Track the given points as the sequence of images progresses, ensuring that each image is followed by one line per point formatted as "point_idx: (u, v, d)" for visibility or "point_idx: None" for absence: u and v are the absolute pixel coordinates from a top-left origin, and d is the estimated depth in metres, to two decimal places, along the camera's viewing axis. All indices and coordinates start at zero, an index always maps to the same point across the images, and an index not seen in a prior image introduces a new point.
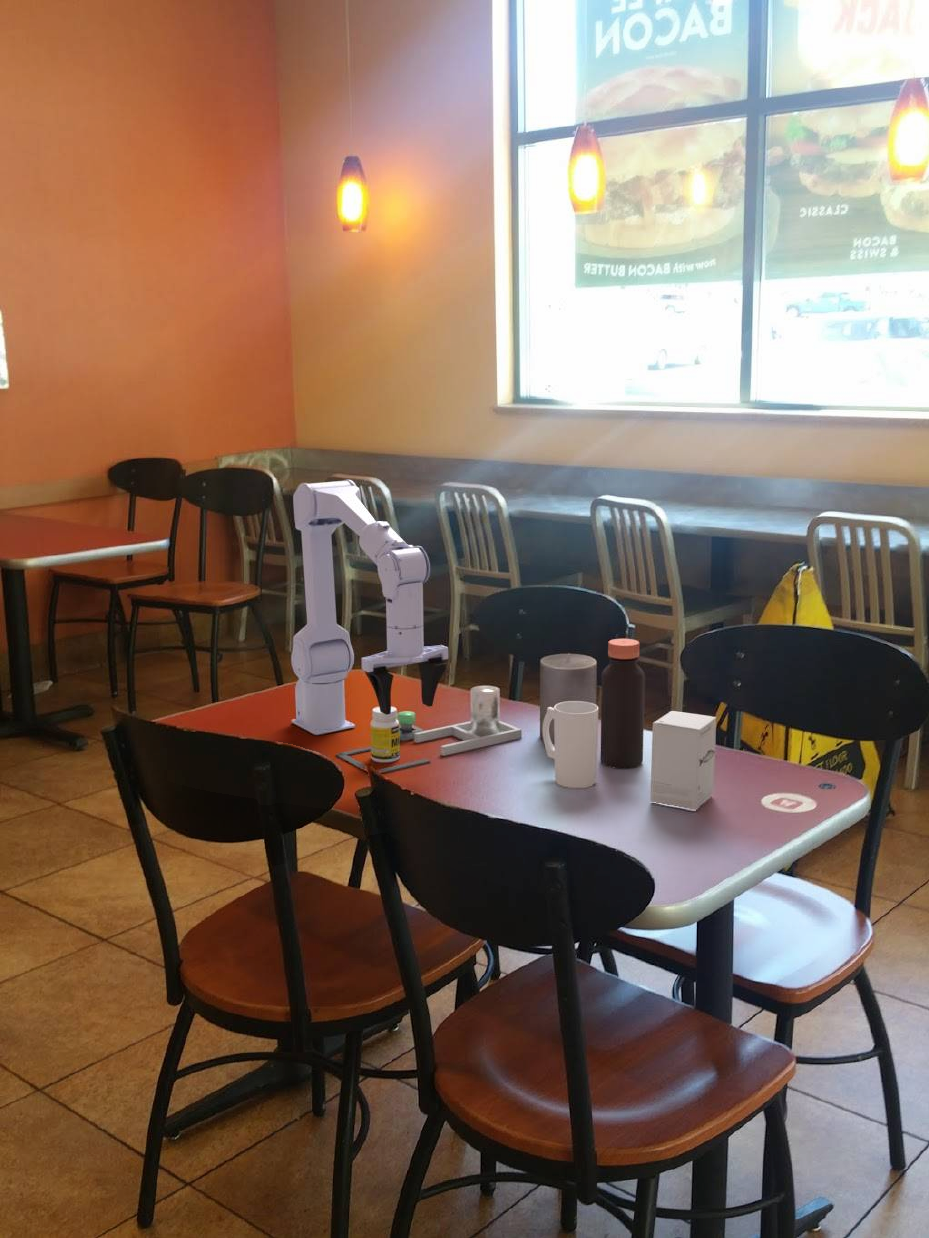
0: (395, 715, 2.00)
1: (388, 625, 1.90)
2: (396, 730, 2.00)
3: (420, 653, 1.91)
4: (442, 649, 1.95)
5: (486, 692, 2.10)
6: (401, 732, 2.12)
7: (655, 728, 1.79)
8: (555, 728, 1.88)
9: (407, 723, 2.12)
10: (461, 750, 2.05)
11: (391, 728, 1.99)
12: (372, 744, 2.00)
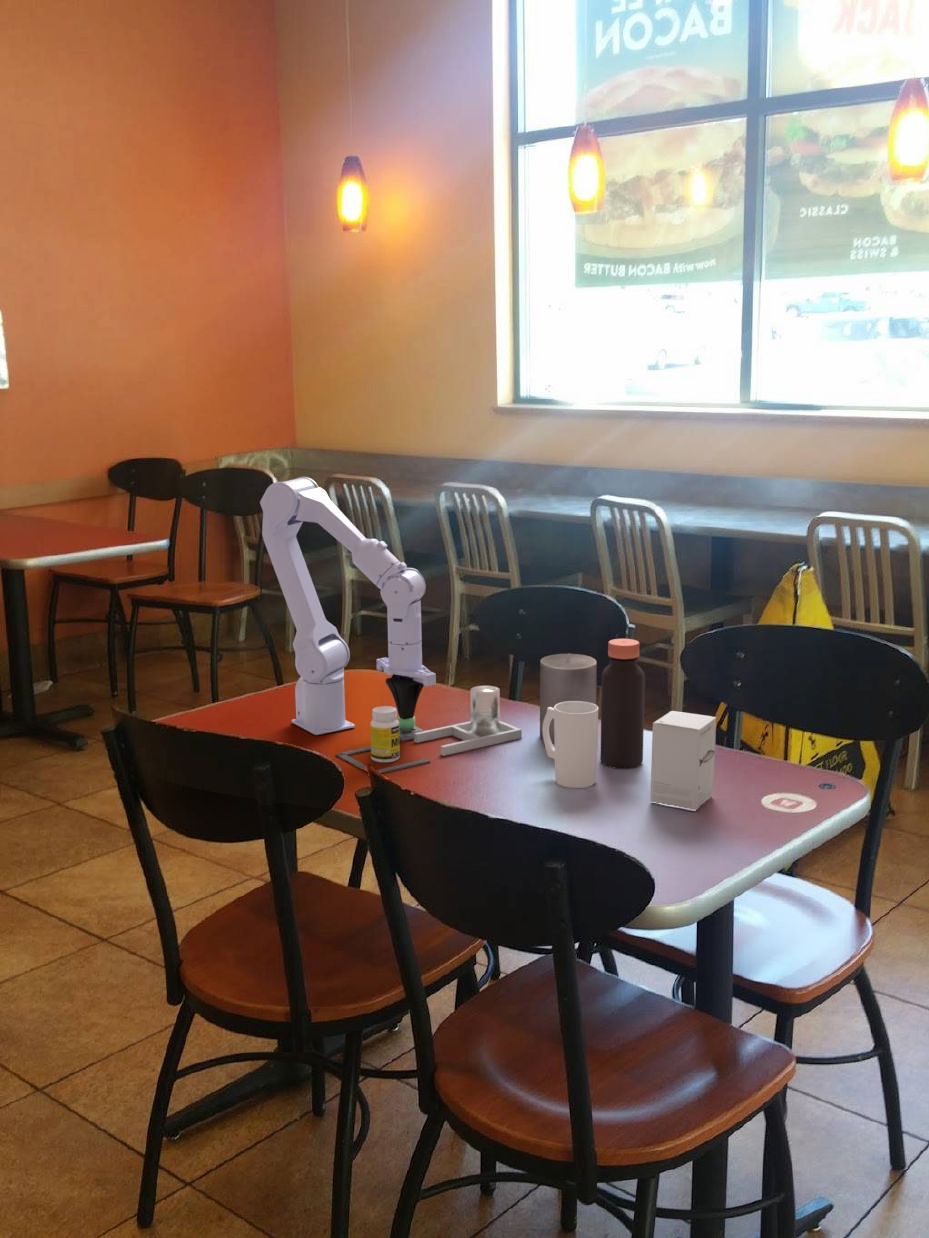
0: (395, 715, 2.00)
1: (396, 643, 2.07)
2: (396, 730, 2.00)
3: (397, 668, 2.08)
4: (421, 675, 2.06)
5: (486, 692, 2.10)
6: (401, 732, 2.12)
7: (655, 728, 1.79)
8: (555, 728, 1.88)
9: (407, 727, 2.12)
10: (461, 750, 2.05)
11: (391, 728, 1.99)
12: (372, 744, 2.00)
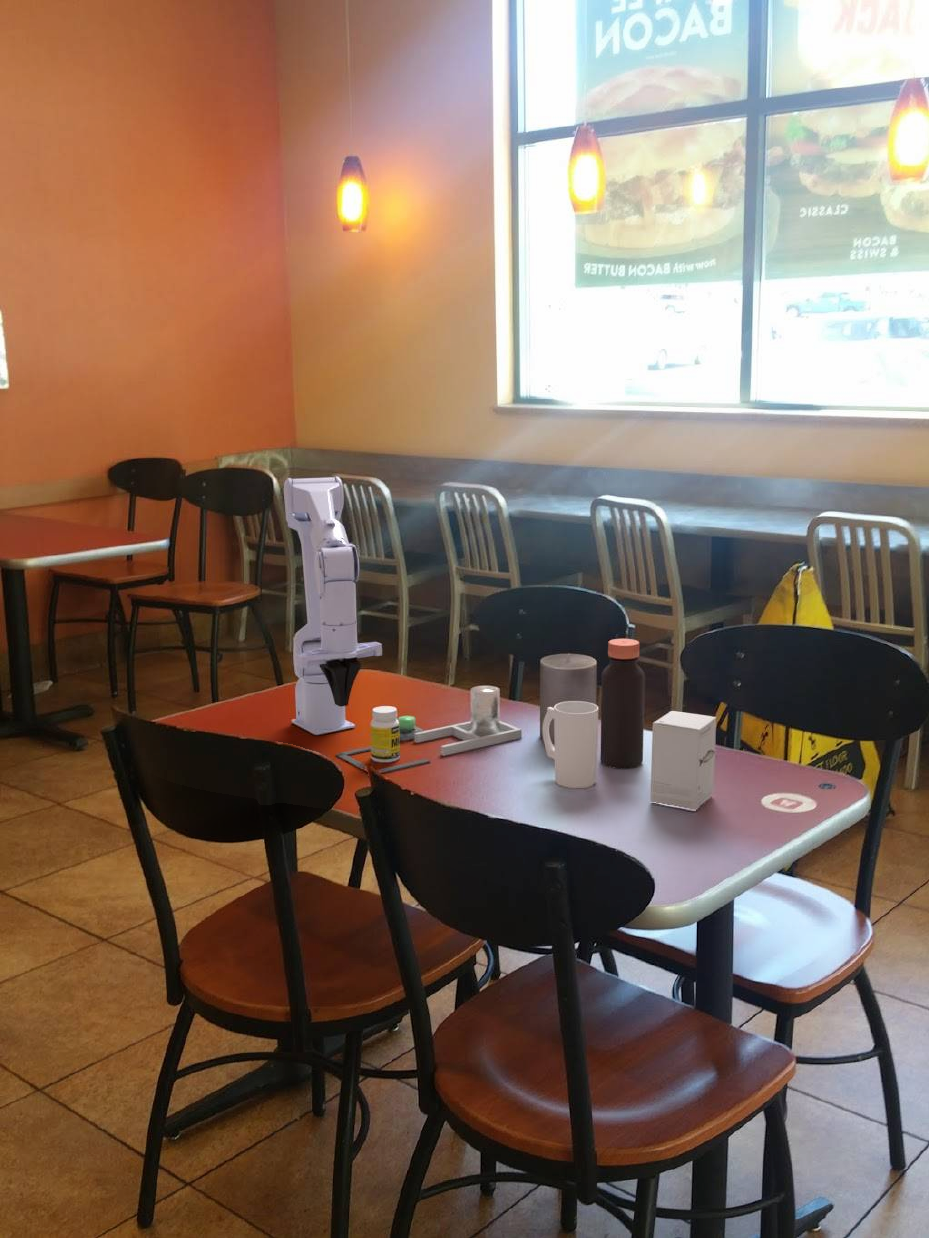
0: (395, 715, 2.00)
1: (320, 621, 1.95)
2: (396, 730, 2.00)
3: (354, 649, 1.95)
4: (376, 646, 1.99)
5: (486, 692, 2.10)
6: (401, 732, 2.12)
7: (655, 728, 1.79)
8: (555, 728, 1.88)
9: (407, 728, 2.12)
10: (461, 750, 2.05)
11: (391, 728, 1.99)
12: (372, 744, 2.00)
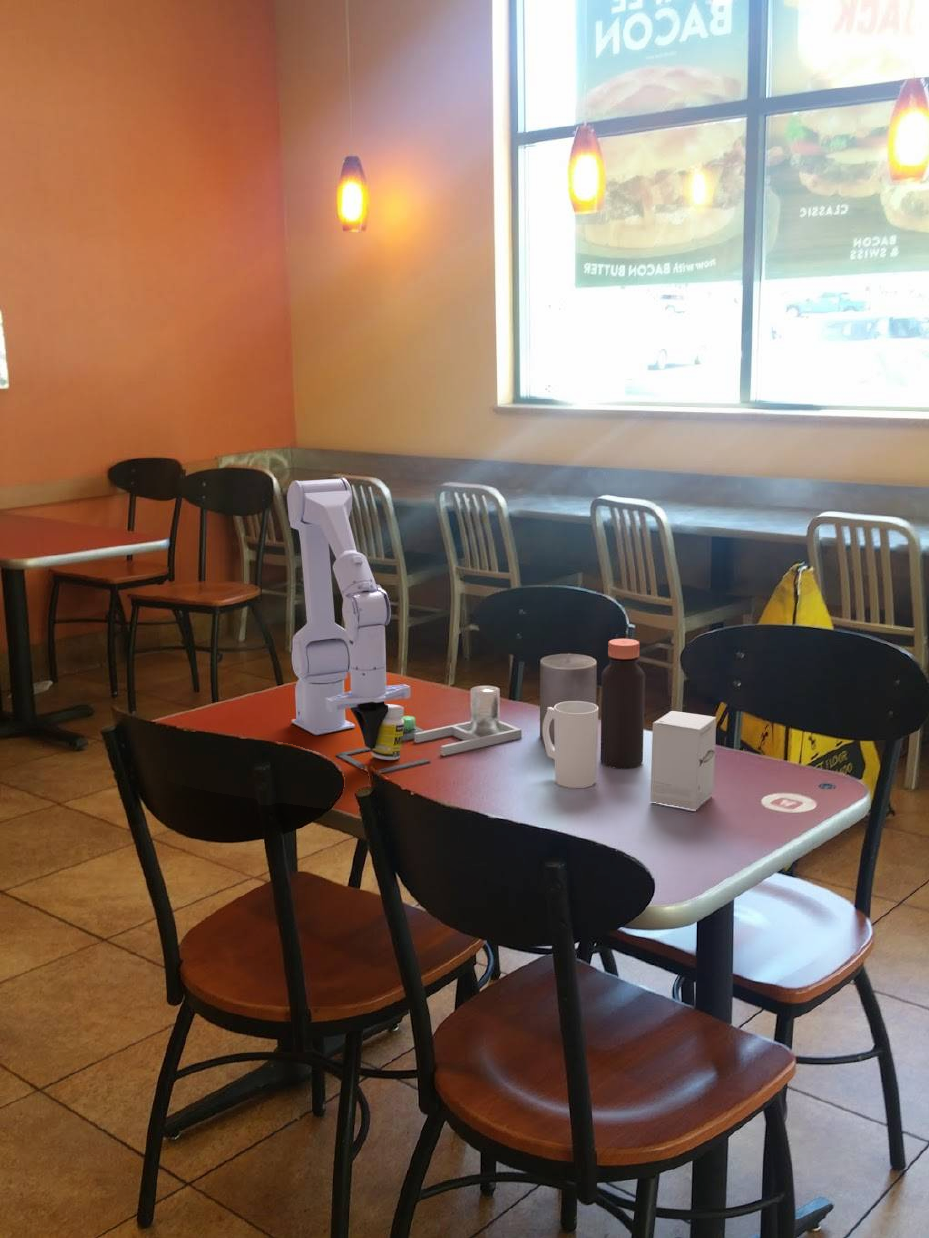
0: (401, 714, 2.00)
1: (350, 665, 1.96)
2: (400, 729, 2.00)
3: (383, 693, 1.97)
4: (404, 688, 2.00)
5: (486, 692, 2.10)
6: None
7: (655, 728, 1.79)
8: (555, 728, 1.88)
9: (407, 728, 2.12)
10: (461, 750, 2.05)
11: (396, 726, 1.99)
12: None
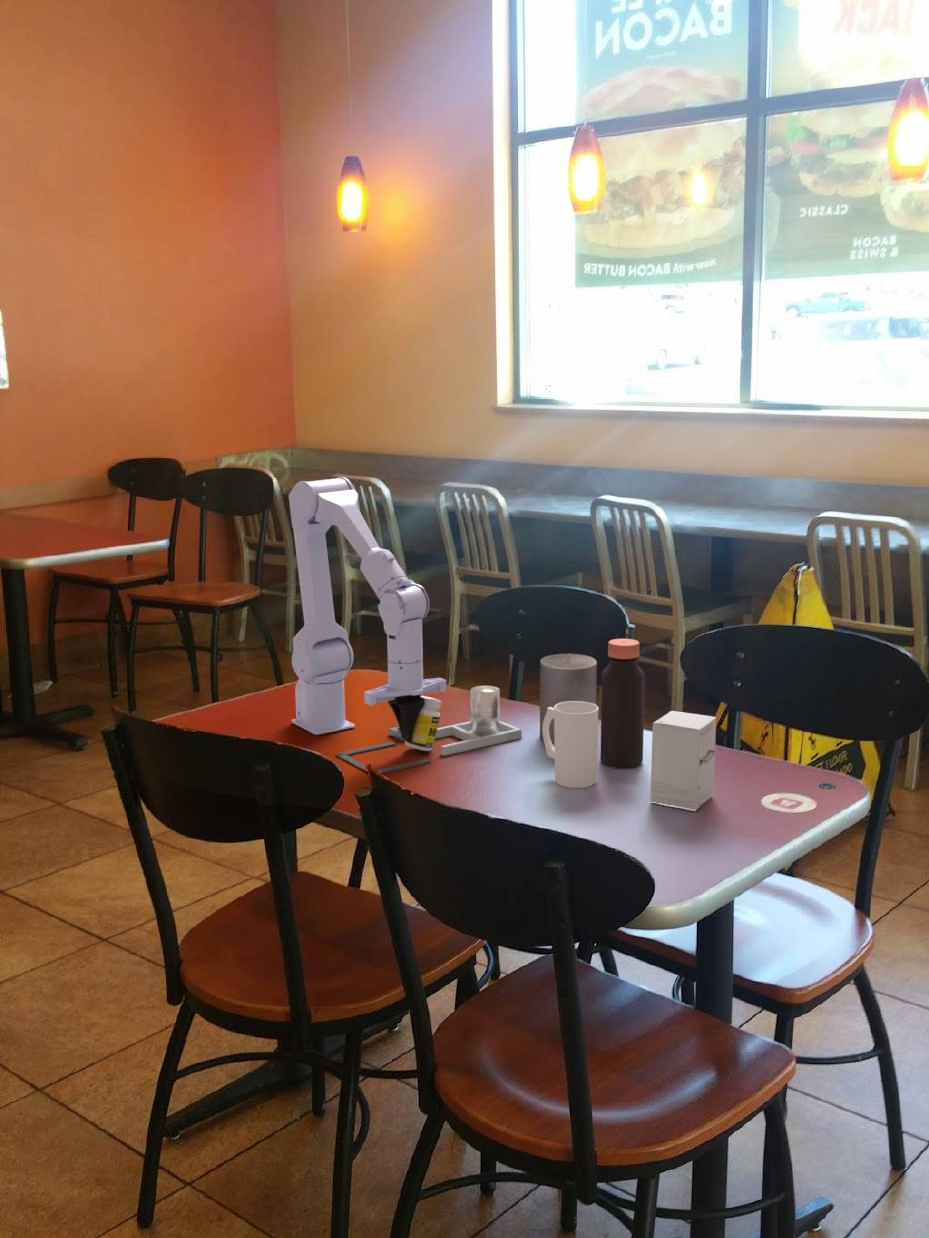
0: (439, 706, 2.04)
1: (391, 660, 1.99)
2: (436, 721, 2.04)
3: (420, 686, 2.00)
4: (440, 682, 2.04)
5: (486, 692, 2.10)
6: None
7: (655, 728, 1.79)
8: (555, 728, 1.88)
9: None
10: (461, 750, 2.05)
11: (432, 717, 2.03)
12: None
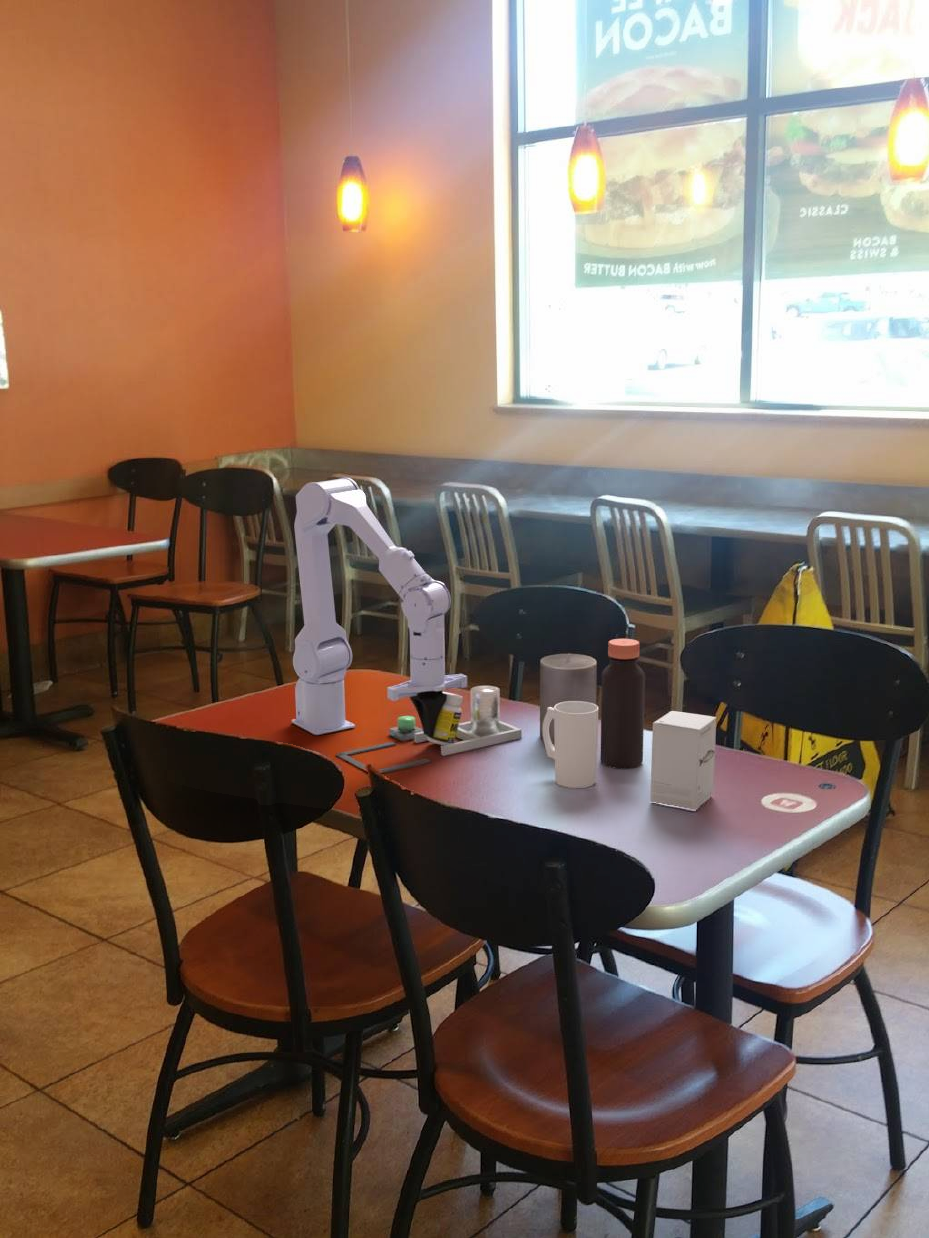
0: (460, 702, 2.06)
1: (415, 657, 2.01)
2: (458, 716, 2.06)
3: (442, 682, 2.03)
4: (462, 678, 2.07)
5: (486, 692, 2.10)
6: (401, 732, 2.12)
7: (655, 728, 1.79)
8: (555, 728, 1.88)
9: (407, 728, 2.12)
10: (461, 750, 2.05)
11: (454, 712, 2.05)
12: None
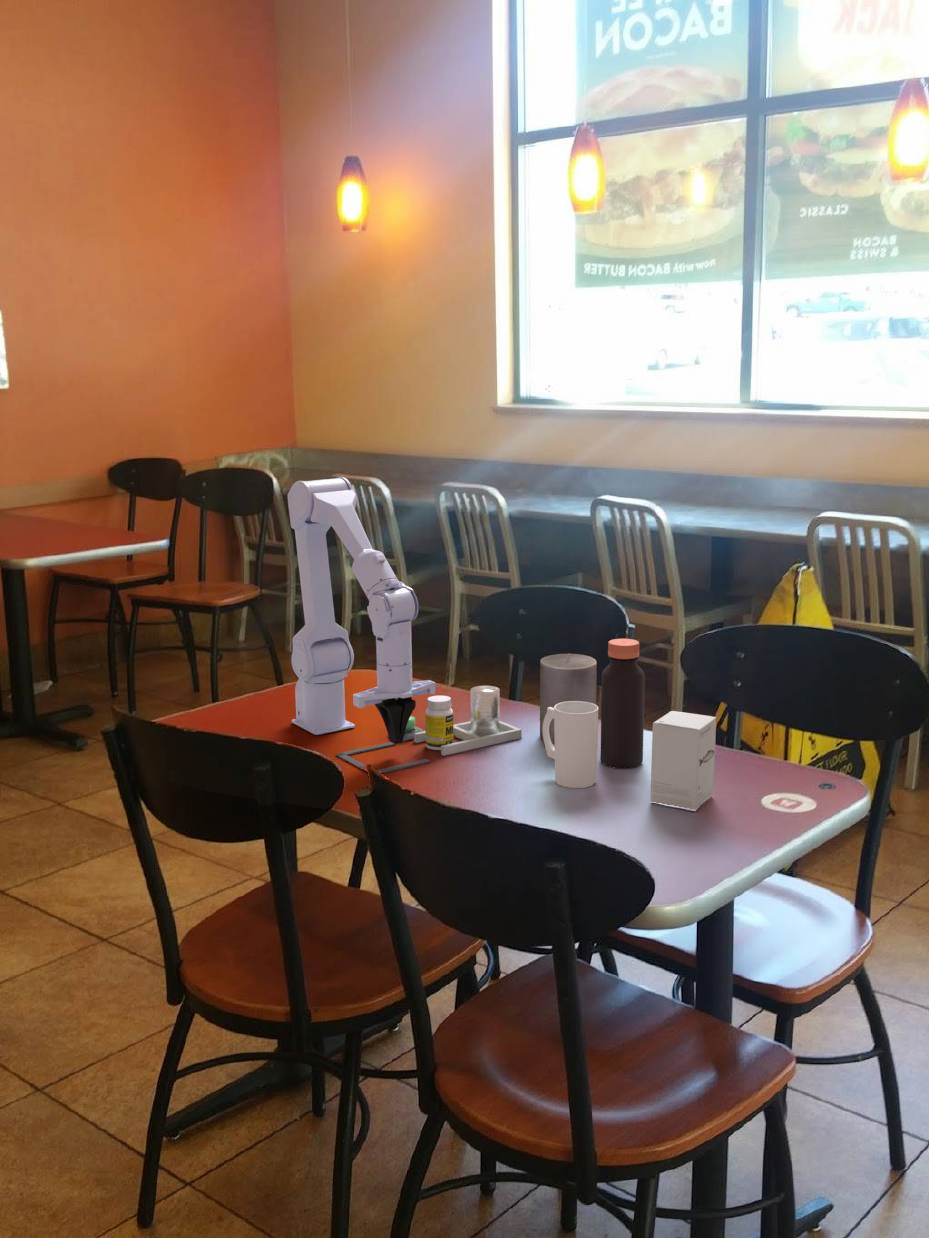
0: (449, 704, 2.05)
1: (379, 663, 1.98)
2: (450, 719, 2.05)
3: (409, 689, 1.99)
4: (429, 684, 2.03)
5: (486, 692, 2.10)
6: None
7: (655, 728, 1.79)
8: (555, 728, 1.88)
9: (407, 728, 2.12)
10: (461, 750, 2.05)
11: (445, 717, 2.05)
12: (427, 732, 2.06)
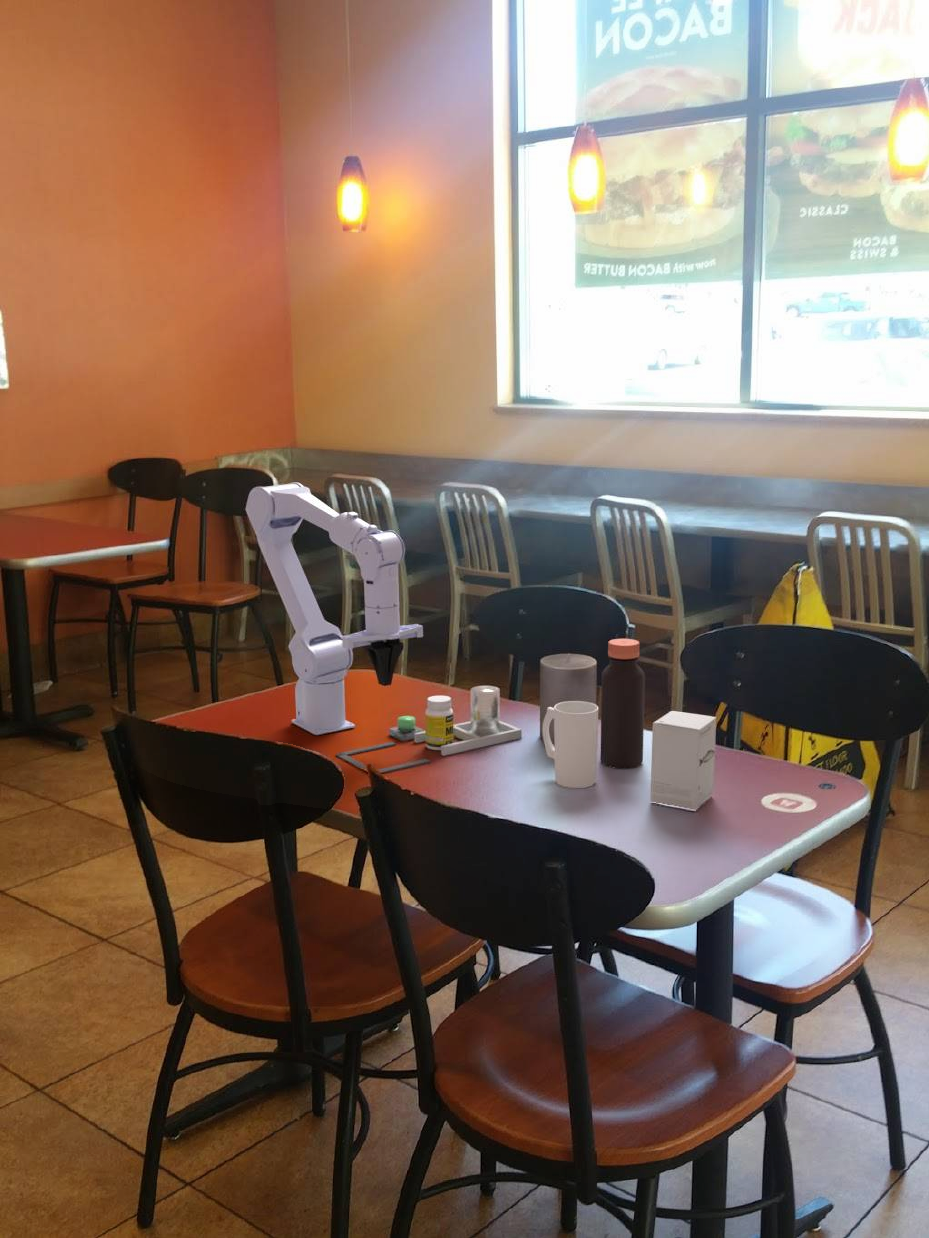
0: (449, 704, 2.05)
1: (368, 606, 2.03)
2: (450, 719, 2.05)
3: (397, 631, 2.04)
4: (417, 627, 2.08)
5: (486, 692, 2.10)
6: (401, 732, 2.12)
7: (655, 728, 1.79)
8: (555, 728, 1.88)
9: (407, 728, 2.12)
10: (461, 750, 2.05)
11: (445, 717, 2.05)
12: (427, 732, 2.06)
